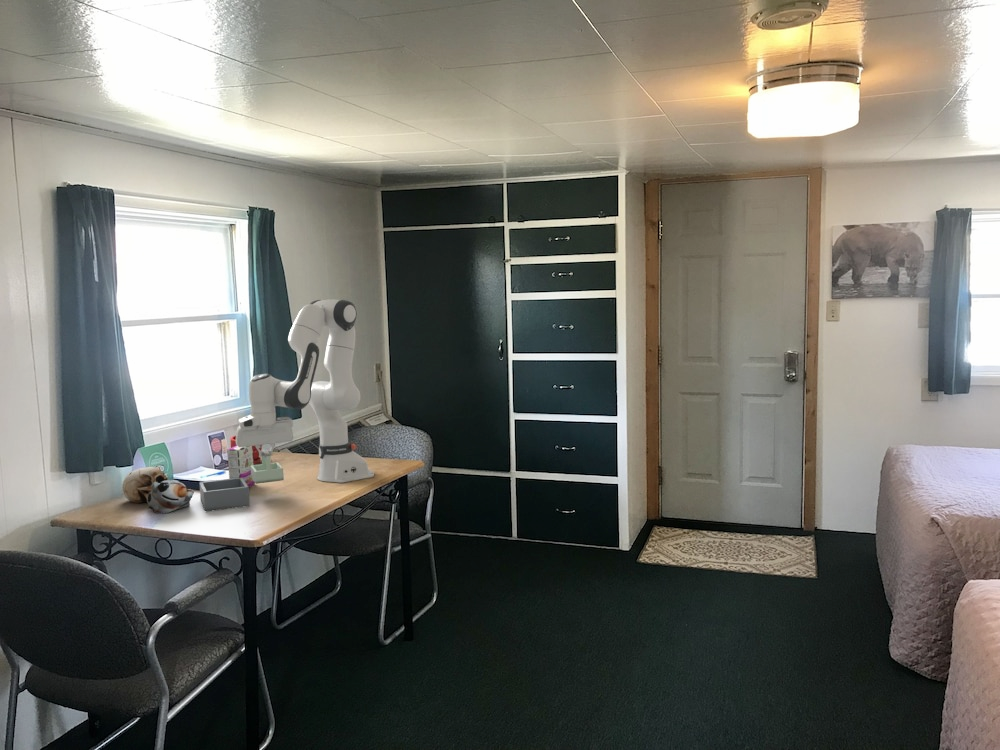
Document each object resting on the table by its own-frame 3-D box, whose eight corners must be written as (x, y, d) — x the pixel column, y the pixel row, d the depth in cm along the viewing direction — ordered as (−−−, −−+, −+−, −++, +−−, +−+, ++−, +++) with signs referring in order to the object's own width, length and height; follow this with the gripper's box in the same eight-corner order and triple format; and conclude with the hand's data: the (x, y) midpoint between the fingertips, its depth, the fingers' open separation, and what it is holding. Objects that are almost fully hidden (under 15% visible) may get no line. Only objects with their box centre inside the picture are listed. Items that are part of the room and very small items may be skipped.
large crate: (243, 495, 307) (242, 477, 306) (249, 506, 294) (248, 486, 293) (200, 501, 301) (199, 482, 300) (205, 511, 287) (203, 492, 286)
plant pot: (225, 466, 354) (224, 439, 353) (241, 459, 367) (240, 433, 365) (253, 467, 351) (252, 440, 350) (268, 460, 364) (267, 434, 363)
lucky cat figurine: (194, 502, 299) (200, 472, 293) (185, 524, 289) (191, 494, 282) (151, 493, 296) (156, 463, 289) (141, 515, 285) (146, 484, 279)
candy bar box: (243, 483, 325) (241, 442, 323) (255, 484, 324) (253, 443, 322) (228, 491, 314) (226, 449, 312) (241, 491, 313) (238, 449, 311)
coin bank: (184, 499, 303) (177, 464, 301) (136, 513, 292) (129, 477, 290) (168, 492, 315) (162, 458, 312) (121, 506, 304) (114, 471, 301)
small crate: (278, 473, 310) (277, 447, 308) (283, 480, 301) (282, 452, 299) (251, 477, 305) (249, 450, 304) (255, 483, 297) (253, 456, 295)
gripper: (290, 414, 307) (292, 450, 309) (233, 420, 298) (236, 457, 300) (294, 417, 301) (296, 454, 303) (236, 423, 293) (238, 461, 295)
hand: (265, 456), depth 302 cm, fingers closed on small crate
